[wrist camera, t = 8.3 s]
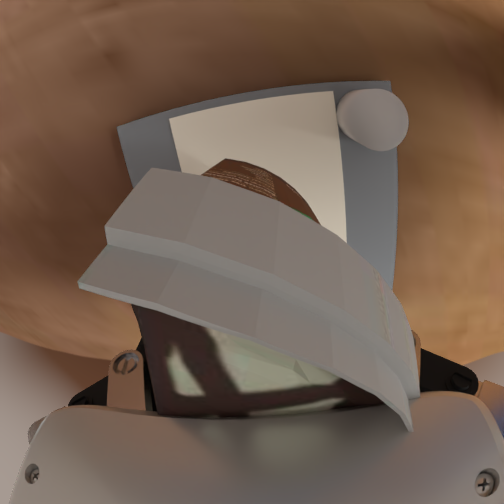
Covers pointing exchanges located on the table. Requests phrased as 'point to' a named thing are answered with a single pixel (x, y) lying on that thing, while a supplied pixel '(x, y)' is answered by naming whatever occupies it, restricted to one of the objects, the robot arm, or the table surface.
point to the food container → (251, 300)
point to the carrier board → (295, 151)
